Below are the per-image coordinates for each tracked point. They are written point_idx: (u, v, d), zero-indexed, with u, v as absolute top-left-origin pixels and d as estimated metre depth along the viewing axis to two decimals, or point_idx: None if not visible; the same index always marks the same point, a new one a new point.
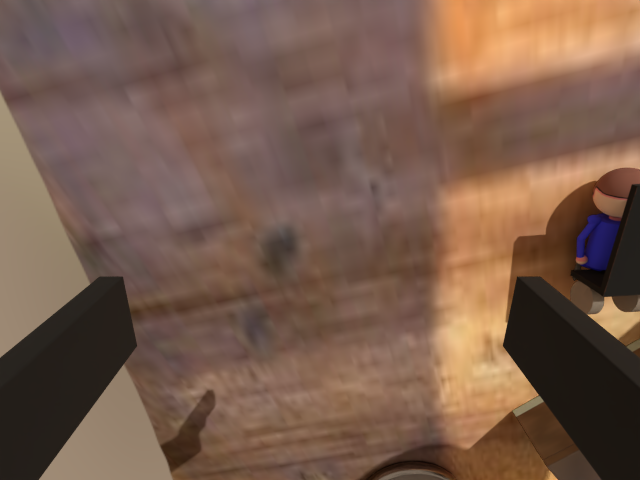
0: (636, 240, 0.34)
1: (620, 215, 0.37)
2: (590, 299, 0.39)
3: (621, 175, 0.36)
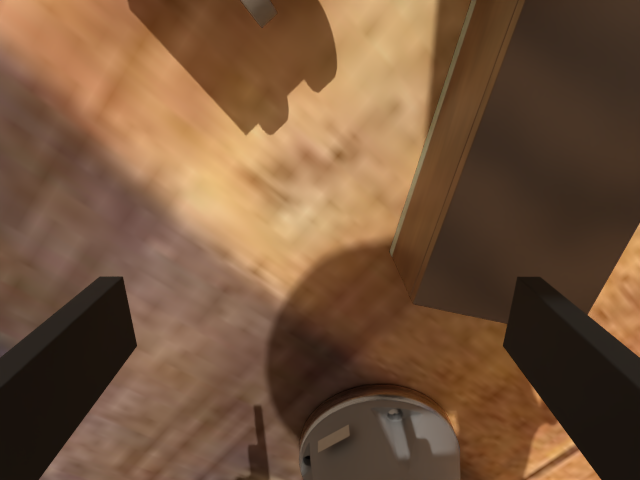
0: None
1: None
2: None
3: None
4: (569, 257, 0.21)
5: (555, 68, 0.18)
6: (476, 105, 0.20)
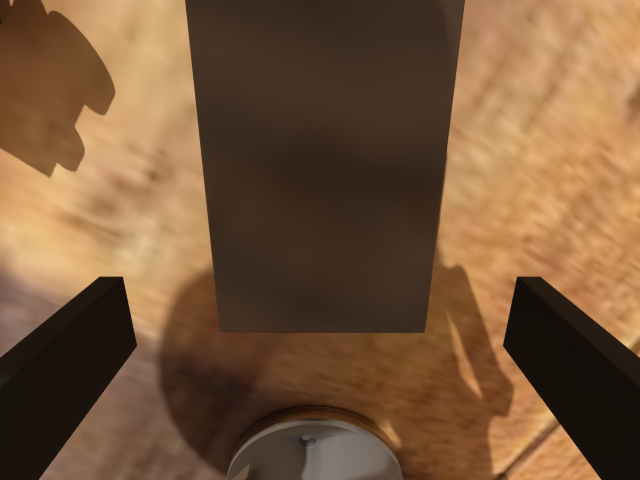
0: None
1: None
2: None
3: None
4: (375, 243, 0.18)
5: (254, 27, 0.14)
6: None
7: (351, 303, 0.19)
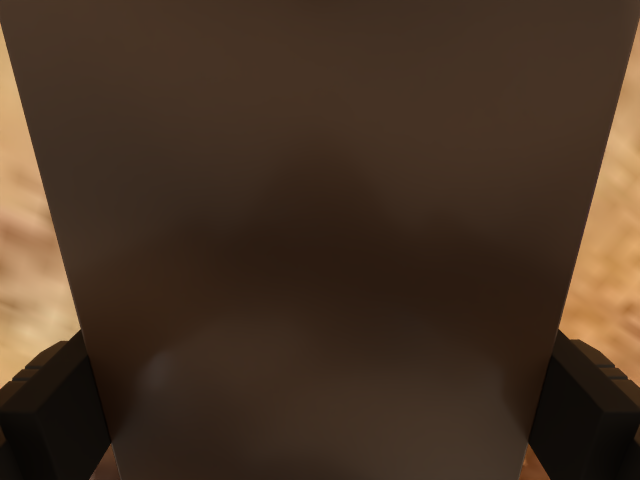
0: None
1: None
2: None
3: None
4: (423, 387, 0.09)
5: None
6: None
7: None
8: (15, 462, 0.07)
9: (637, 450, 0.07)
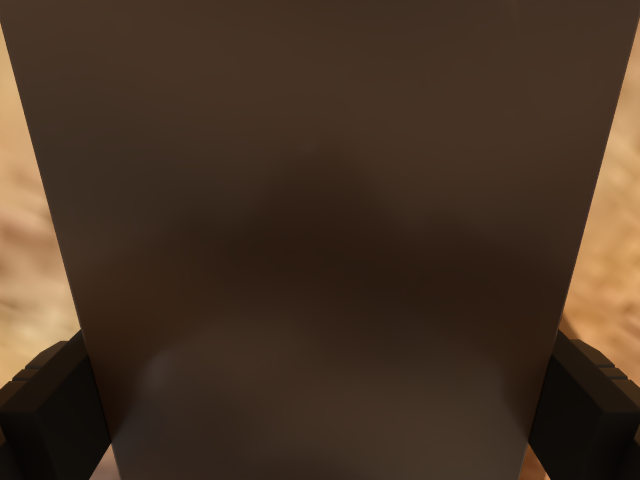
0: None
1: None
2: None
3: None
4: (423, 387, 0.09)
5: None
6: None
7: None
8: (15, 463, 0.07)
9: (637, 450, 0.07)
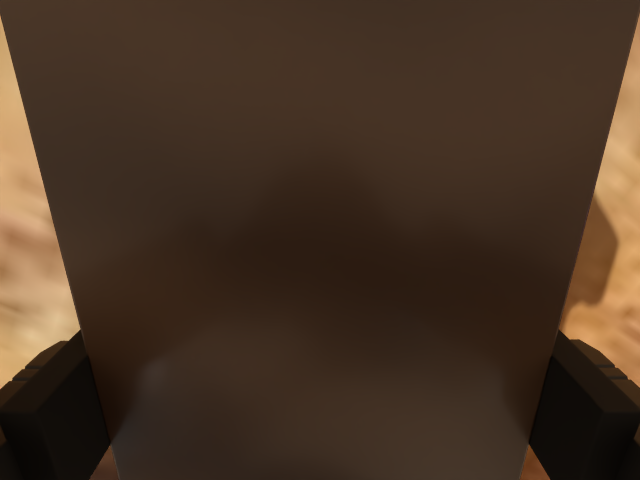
0: None
1: None
2: None
3: None
4: (423, 387, 0.09)
5: None
6: None
7: None
8: (15, 463, 0.07)
9: (637, 450, 0.07)
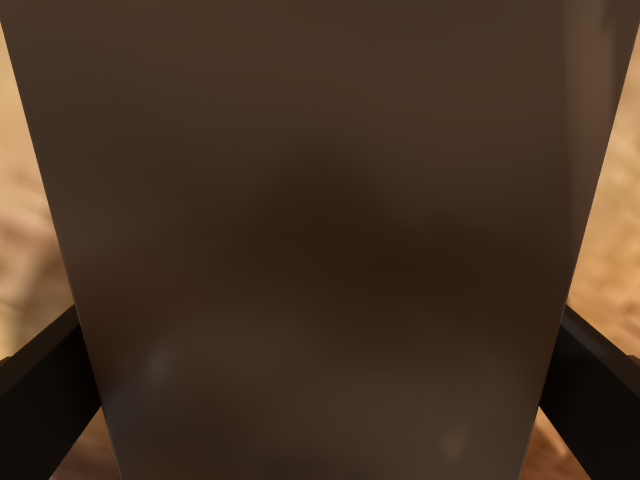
0: None
1: None
2: None
3: None
4: (426, 369, 0.09)
5: None
6: None
7: (375, 470, 0.10)
8: None
9: None
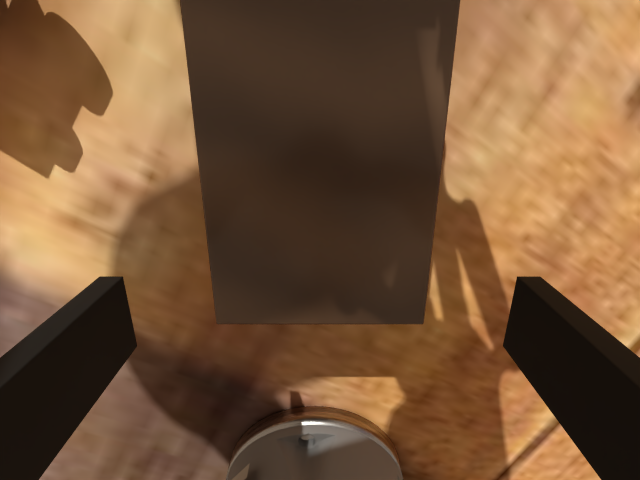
0: None
1: None
2: None
3: None
4: (372, 232, 0.17)
5: (248, 11, 0.14)
6: None
7: (349, 294, 0.19)
8: None
9: None
